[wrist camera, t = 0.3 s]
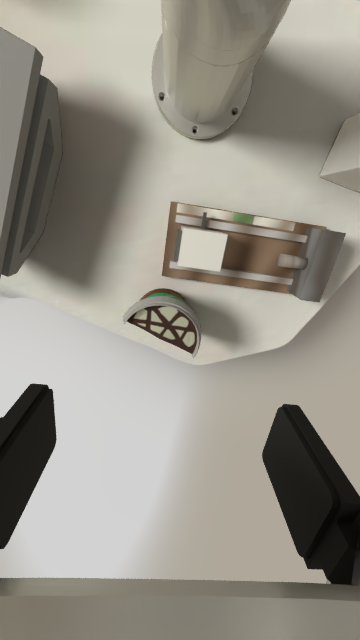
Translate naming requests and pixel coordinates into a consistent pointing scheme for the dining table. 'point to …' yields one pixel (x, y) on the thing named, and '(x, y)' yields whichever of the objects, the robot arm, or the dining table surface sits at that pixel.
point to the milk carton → (345, 156)
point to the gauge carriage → (200, 247)
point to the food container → (167, 319)
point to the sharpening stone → (25, 149)
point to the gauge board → (259, 251)
